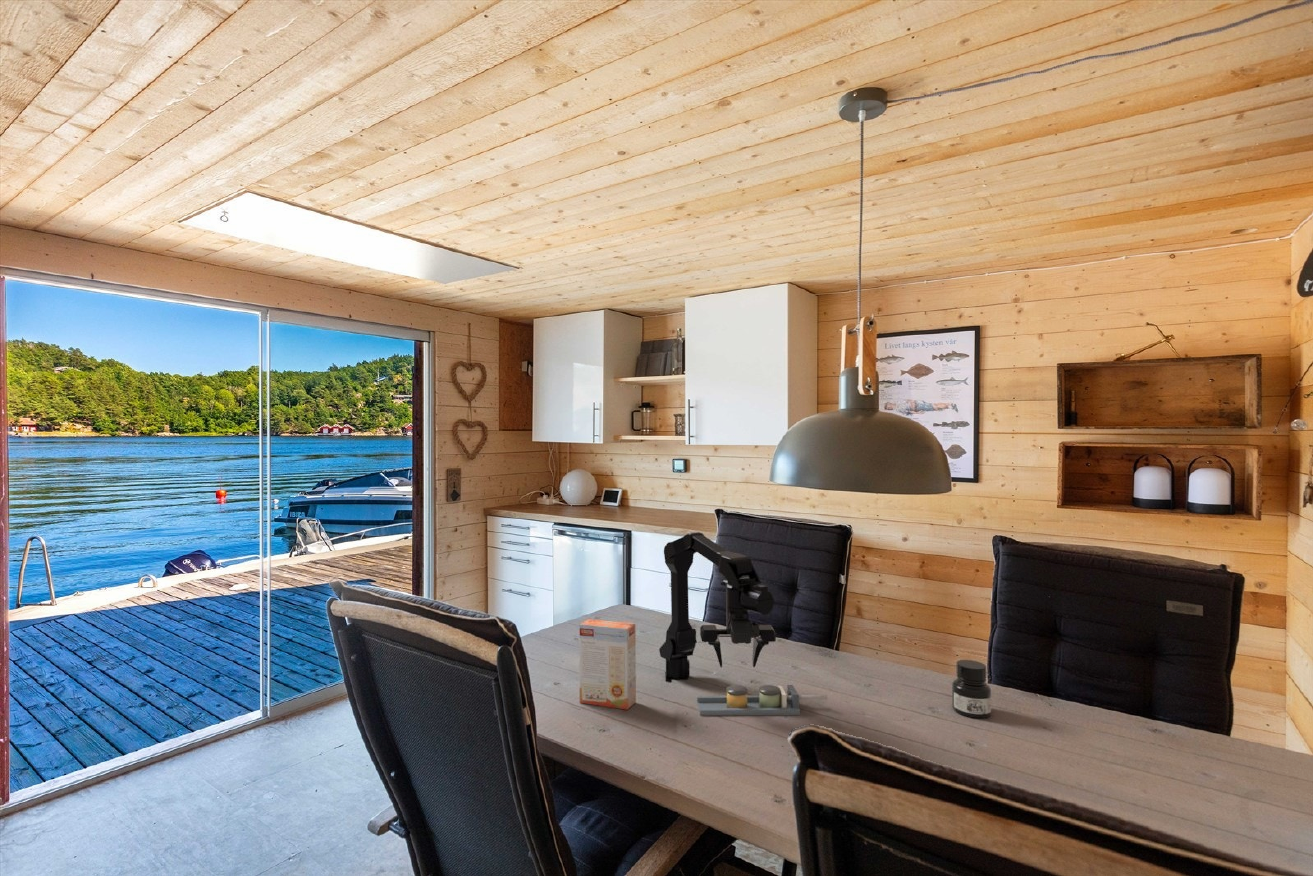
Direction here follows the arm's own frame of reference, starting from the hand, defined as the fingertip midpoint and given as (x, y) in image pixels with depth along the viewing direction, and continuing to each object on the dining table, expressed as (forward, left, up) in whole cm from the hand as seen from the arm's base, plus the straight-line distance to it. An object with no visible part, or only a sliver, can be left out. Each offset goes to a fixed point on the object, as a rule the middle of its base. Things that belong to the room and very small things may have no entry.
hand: (737, 666), depth 159 cm
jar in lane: (+8, 0, -10) cm, 13 cm away
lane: (+3, 0, -11) cm, 11 cm away
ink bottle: (+60, -2, -11) cm, 61 cm away
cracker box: (-33, +5, -11) cm, 36 cm away
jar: (0, 0, -10) cm, 10 cm away
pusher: (+17, 0, -10) cm, 20 cm away
